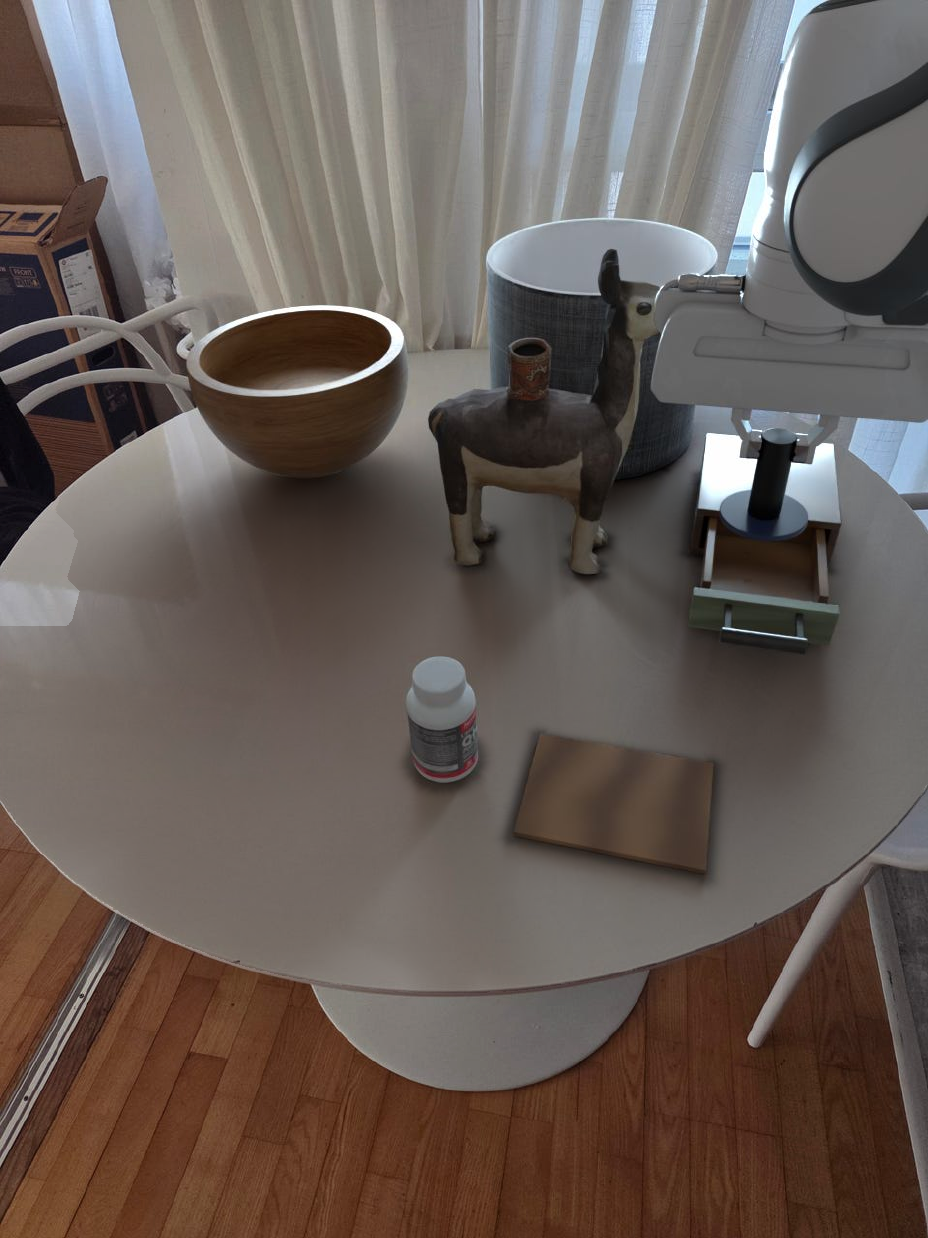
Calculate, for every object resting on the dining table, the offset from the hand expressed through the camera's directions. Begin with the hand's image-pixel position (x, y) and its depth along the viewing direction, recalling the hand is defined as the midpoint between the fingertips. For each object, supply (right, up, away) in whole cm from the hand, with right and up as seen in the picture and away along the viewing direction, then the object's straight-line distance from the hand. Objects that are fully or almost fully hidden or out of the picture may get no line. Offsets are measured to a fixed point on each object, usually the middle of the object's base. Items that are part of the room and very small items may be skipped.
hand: (775, 457), depth 67 cm
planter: (-8, +11, +43) cm, 45 cm away
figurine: (-16, -5, +24) cm, 29 cm away
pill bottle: (-26, -24, +3) cm, 36 cm away
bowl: (-43, +7, +40) cm, 59 cm away
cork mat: (-13, -27, -1) cm, 30 cm away
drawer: (+4, -11, +14) cm, 18 cm away
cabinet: (+8, -2, +26) cm, 27 cm away
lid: (0, -4, +4) cm, 6 cm away
